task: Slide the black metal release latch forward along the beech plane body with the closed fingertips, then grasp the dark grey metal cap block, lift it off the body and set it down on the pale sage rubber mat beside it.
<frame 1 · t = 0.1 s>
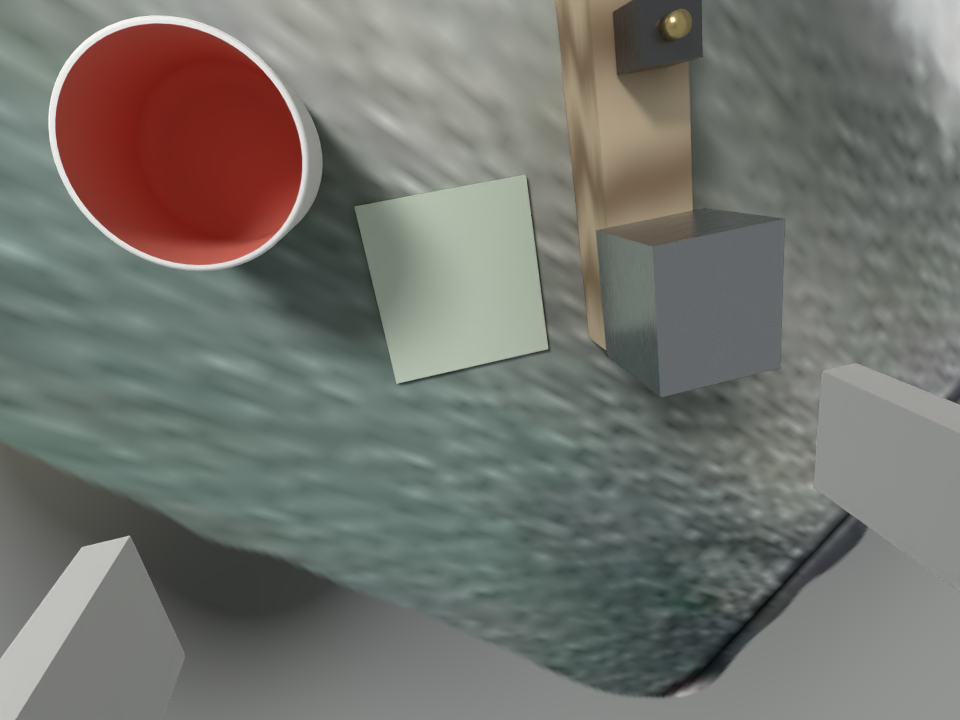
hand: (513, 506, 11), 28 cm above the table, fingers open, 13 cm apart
cup: (235, 155, 33), on the table
mat: (457, 282, 38), on the table
cap: (654, 283, 35), point 5 cm above the table, touching plane body
latch: (660, 32, 28), point 7 cm above the table, slide at 0.0 cm
plane body: (612, 174, 37), on the table
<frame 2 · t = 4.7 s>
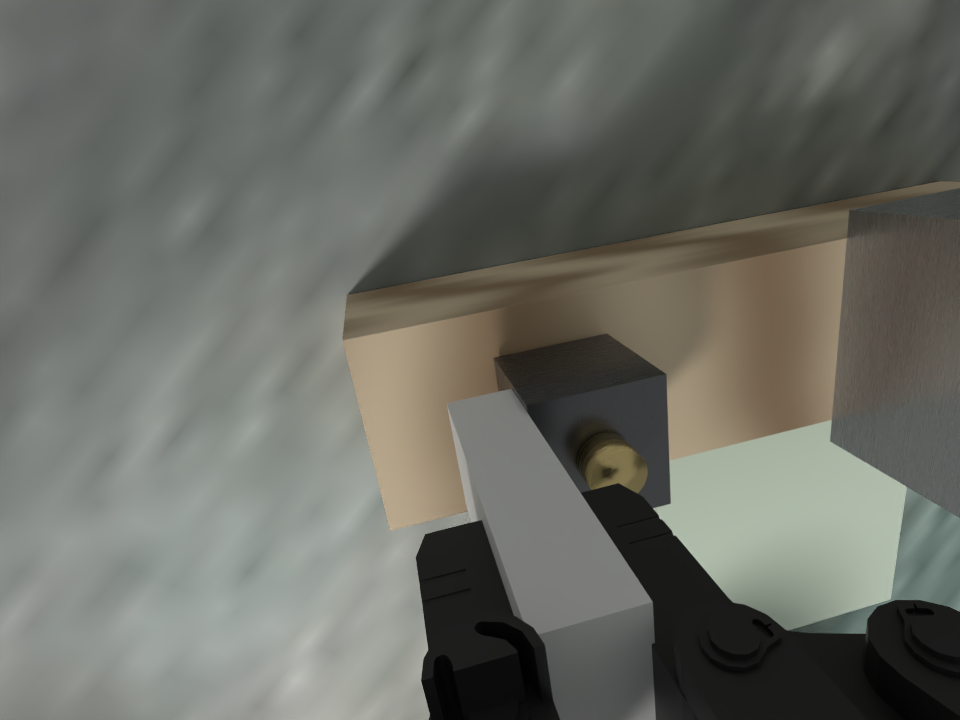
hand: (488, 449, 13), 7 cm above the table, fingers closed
mat: (779, 533, 25), on the table
cap: (958, 307, 17), point 5 cm above the table, touching plane body
latch: (584, 434, 13), point 7 cm above the table, slide at 1.0 cm, touching gripper
plane body: (668, 309, 20), on the table
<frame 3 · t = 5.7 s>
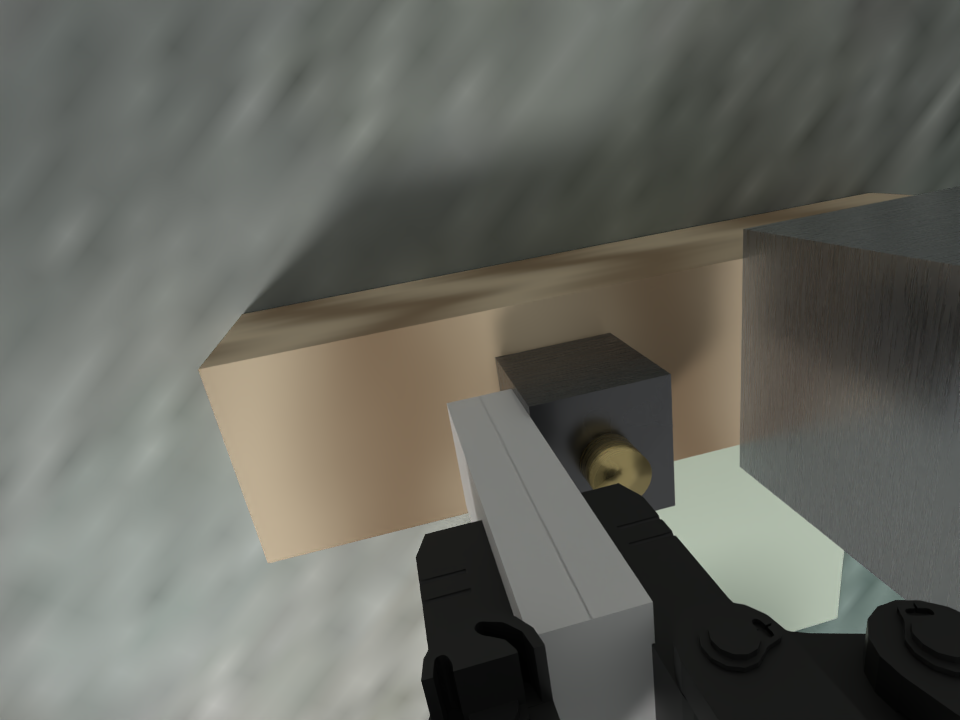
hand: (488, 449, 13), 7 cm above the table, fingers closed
mat: (717, 552, 24), on the table
cap: (869, 327, 16), point 5 cm above the table, touching plane body
latch: (587, 435, 13), point 7 cm above the table, slide at 4.2 cm, touching gripper
plane body: (587, 326, 20), on the table
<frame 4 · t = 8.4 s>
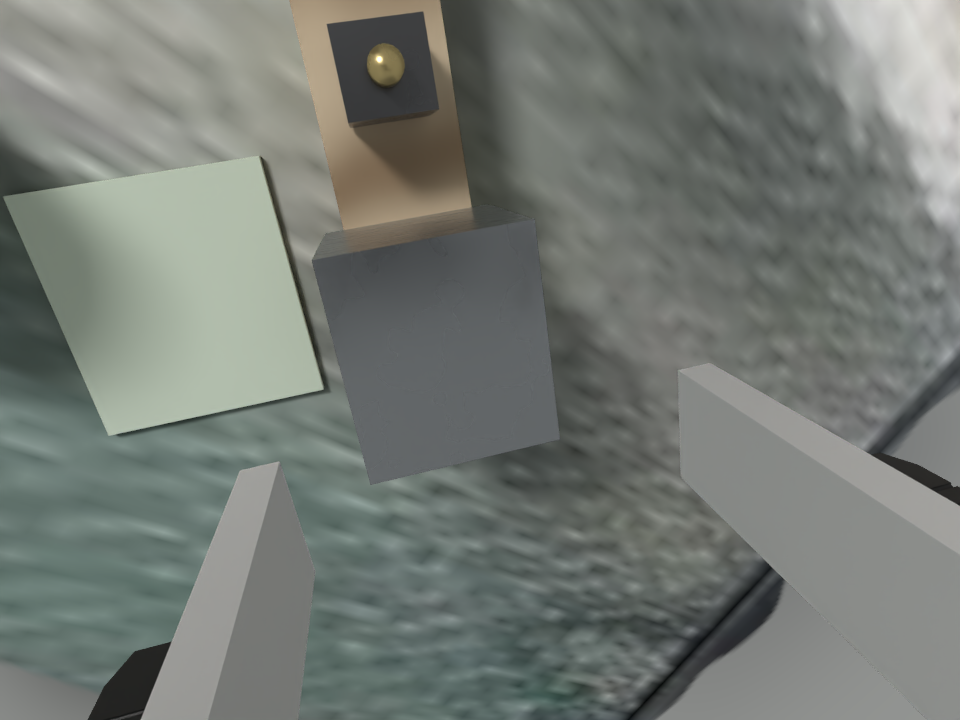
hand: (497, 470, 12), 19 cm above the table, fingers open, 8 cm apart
mat: (182, 301, 28), on the table
cap: (426, 308, 25), point 5 cm above the table, touching plane body
latch: (383, 73, 20), point 7 cm above the table, slide at 4.2 cm
plane body: (390, 157, 27), on the table
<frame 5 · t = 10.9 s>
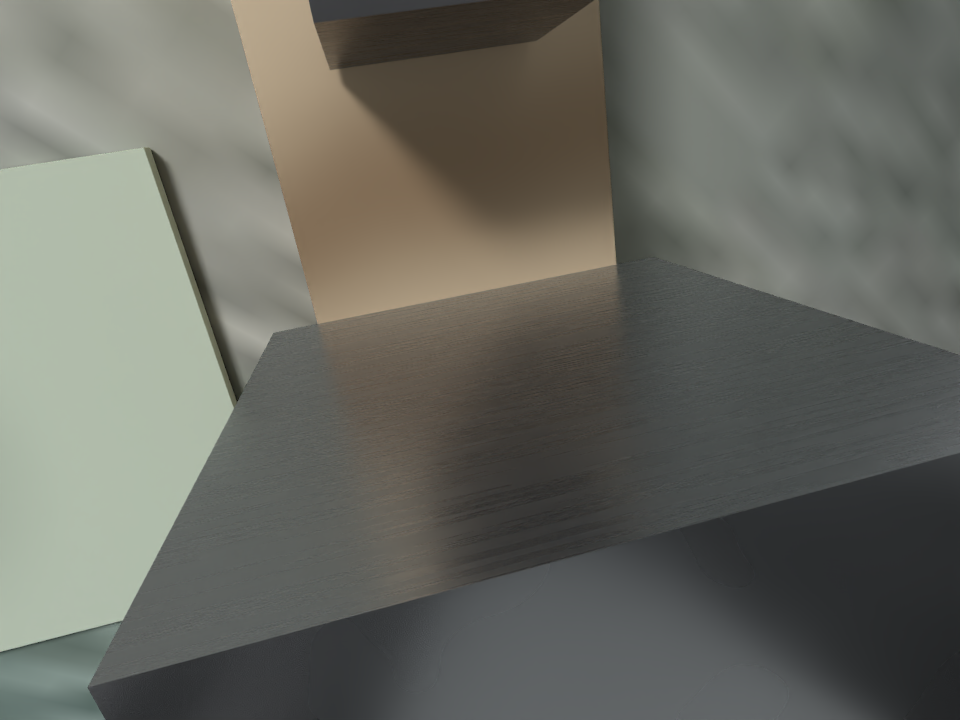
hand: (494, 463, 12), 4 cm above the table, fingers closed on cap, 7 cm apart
mat: (7, 435, 14), on the table
cap: (502, 481, 11), point 5 cm above the table, touching gripper, plane body
plane body: (419, 151, 14), on the table
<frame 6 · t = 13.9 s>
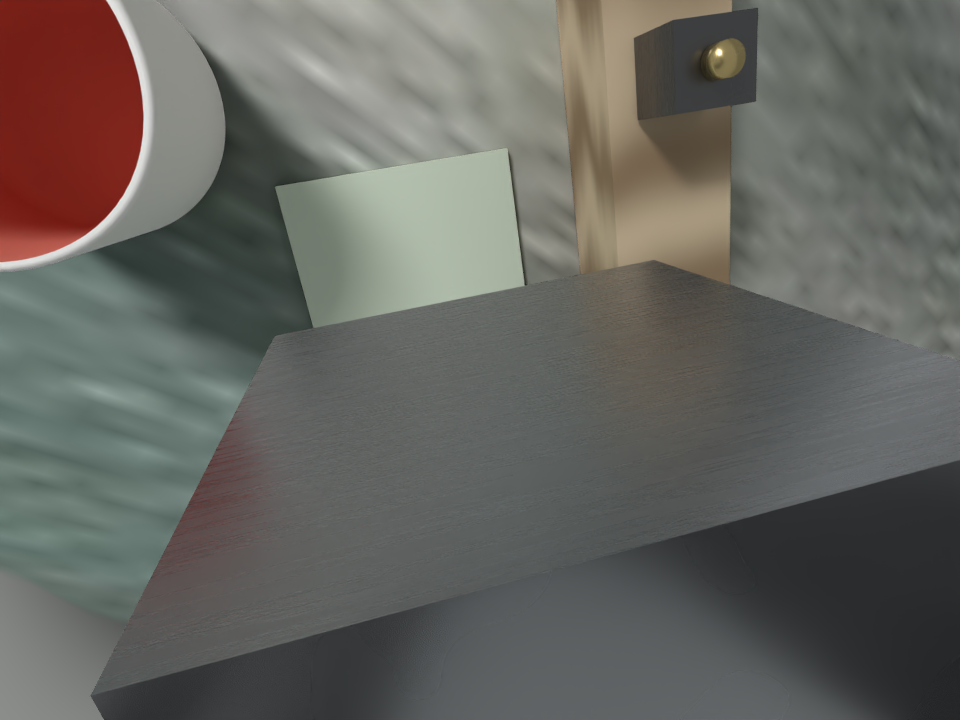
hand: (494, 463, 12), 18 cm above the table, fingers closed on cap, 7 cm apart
cup: (107, 113, 24), on the table
mat: (417, 288, 29), on the table
cap: (503, 484, 11), point 19 cm above the table, touching gripper
latch: (698, 67, 21), point 7 cm above the table, slide at 4.2 cm
plane body: (621, 150, 28), on the table
when the fingers open (2 cm above the table, at t = 17.0 s): cap drops 2 cm, resting on mat.
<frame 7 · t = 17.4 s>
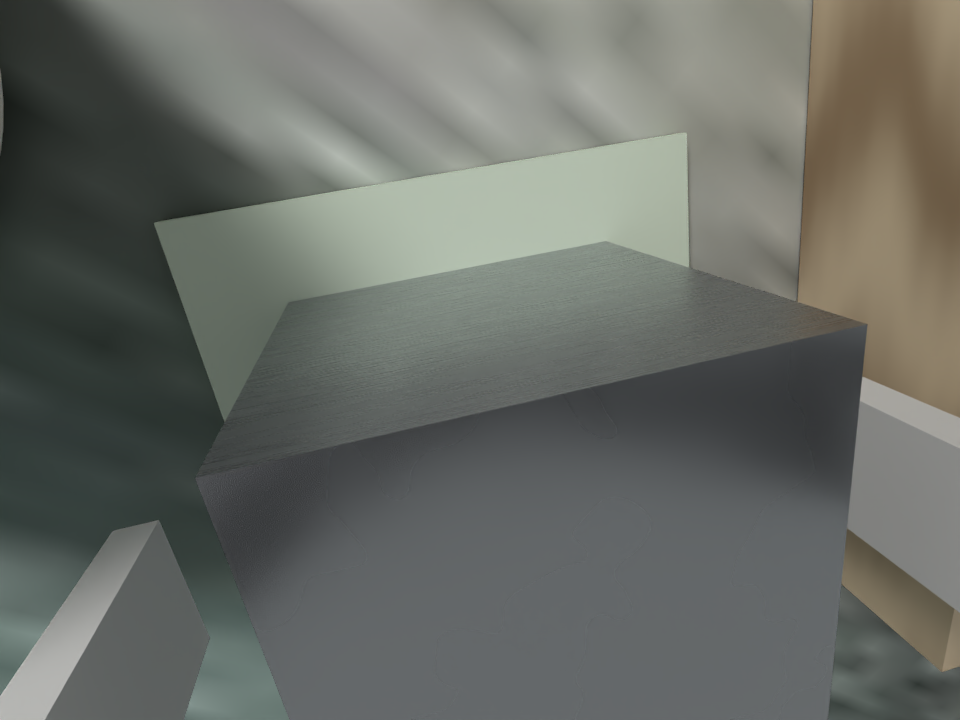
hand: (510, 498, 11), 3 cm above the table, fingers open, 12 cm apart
mat: (478, 426, 14), on the table
cap: (481, 433, 13), resting on mat
plane body: (906, 138, 14), on the table
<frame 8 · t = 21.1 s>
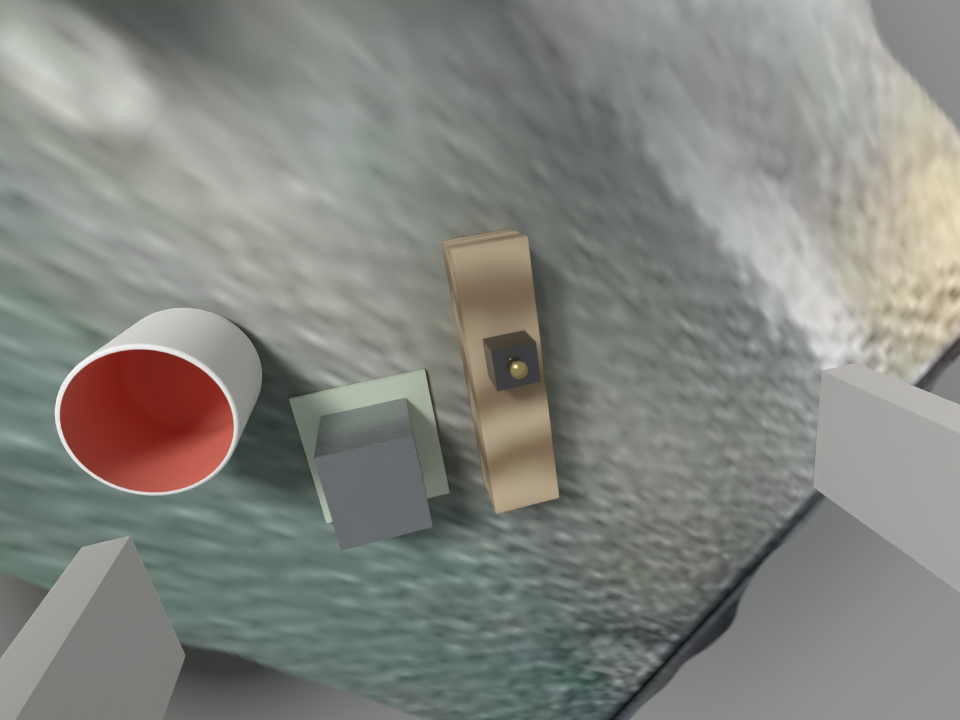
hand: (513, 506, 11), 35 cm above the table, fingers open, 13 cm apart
cup: (196, 366, 43), on the table
mat: (374, 447, 48), on the table
cap: (374, 449, 47), resting on mat
latch: (512, 361, 40), point 7 cm above the table, slide at 4.2 cm
plane body: (496, 364, 47), on the table
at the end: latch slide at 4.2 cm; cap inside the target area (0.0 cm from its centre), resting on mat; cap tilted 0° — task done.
